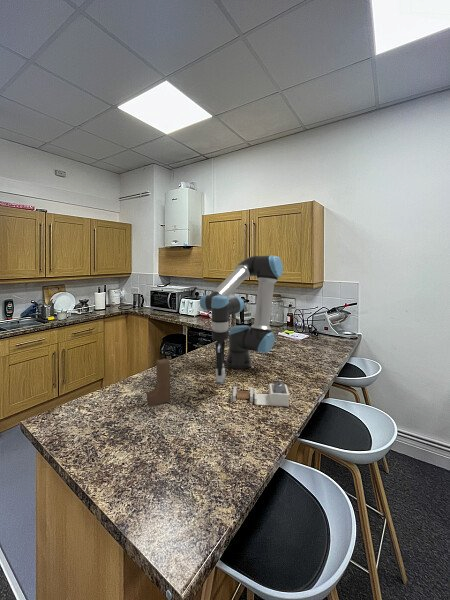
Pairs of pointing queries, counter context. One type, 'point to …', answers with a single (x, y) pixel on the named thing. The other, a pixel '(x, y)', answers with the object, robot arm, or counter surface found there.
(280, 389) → the cell
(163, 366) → the wooden block
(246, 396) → the plate
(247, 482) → the counter surface
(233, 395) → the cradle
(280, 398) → the rack
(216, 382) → the cell
